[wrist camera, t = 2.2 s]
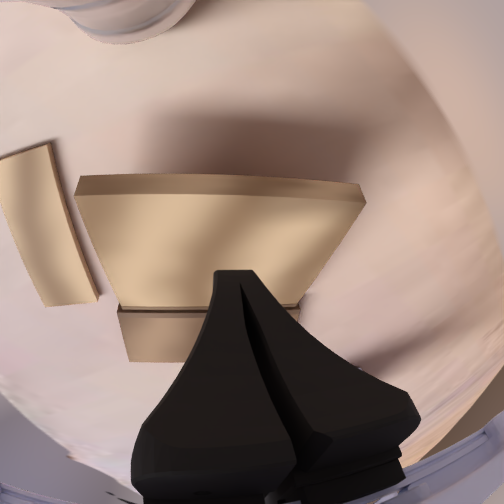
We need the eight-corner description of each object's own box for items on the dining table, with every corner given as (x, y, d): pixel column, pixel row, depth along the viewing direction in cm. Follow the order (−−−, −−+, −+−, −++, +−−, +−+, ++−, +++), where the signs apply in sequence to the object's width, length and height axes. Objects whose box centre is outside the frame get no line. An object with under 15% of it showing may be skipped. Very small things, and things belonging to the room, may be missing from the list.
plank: (54, 140, 16) (46, 145, 15) (100, 291, 22) (97, 301, 21) (-2, 159, 15) (-11, 165, 14) (49, 297, 22) (45, 307, 21)
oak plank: (358, 184, 15) (366, 203, 14) (292, 292, 24) (295, 306, 24) (80, 175, 12) (73, 196, 11) (123, 293, 22) (122, 309, 21)
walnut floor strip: (296, 299, 25) (300, 309, 24) (283, 347, 28) (286, 357, 27) (119, 301, 22) (116, 312, 21) (130, 351, 25) (129, 362, 24)
